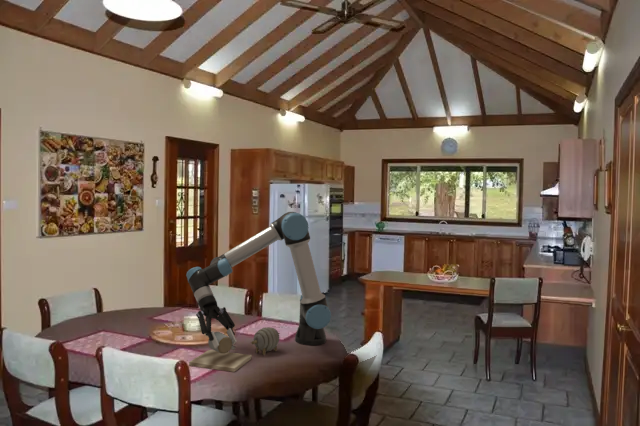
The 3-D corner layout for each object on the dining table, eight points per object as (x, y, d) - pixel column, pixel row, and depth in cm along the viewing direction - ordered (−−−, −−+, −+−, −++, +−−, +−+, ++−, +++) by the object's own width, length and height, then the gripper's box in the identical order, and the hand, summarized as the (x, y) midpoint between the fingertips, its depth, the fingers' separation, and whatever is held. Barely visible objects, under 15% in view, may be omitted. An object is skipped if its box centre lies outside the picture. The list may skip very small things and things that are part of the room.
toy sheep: (286, 350, 246) (287, 326, 246) (262, 359, 232) (263, 333, 231) (267, 345, 252) (268, 322, 251) (243, 354, 238) (244, 329, 237)
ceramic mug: (218, 355, 220) (219, 337, 220) (207, 350, 226) (208, 332, 226) (239, 351, 227) (240, 333, 227) (228, 346, 233) (229, 329, 233)
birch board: (251, 358, 232) (251, 355, 232) (234, 372, 215) (234, 368, 215) (209, 353, 237) (209, 349, 237) (189, 365, 220) (189, 361, 220)
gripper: (222, 301, 243) (242, 345, 233) (181, 307, 229) (200, 354, 218) (229, 291, 239) (250, 335, 229) (188, 297, 225) (208, 344, 214)
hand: (225, 344), depth 223 cm, fingers closed on ceramic mug, 8 cm apart
